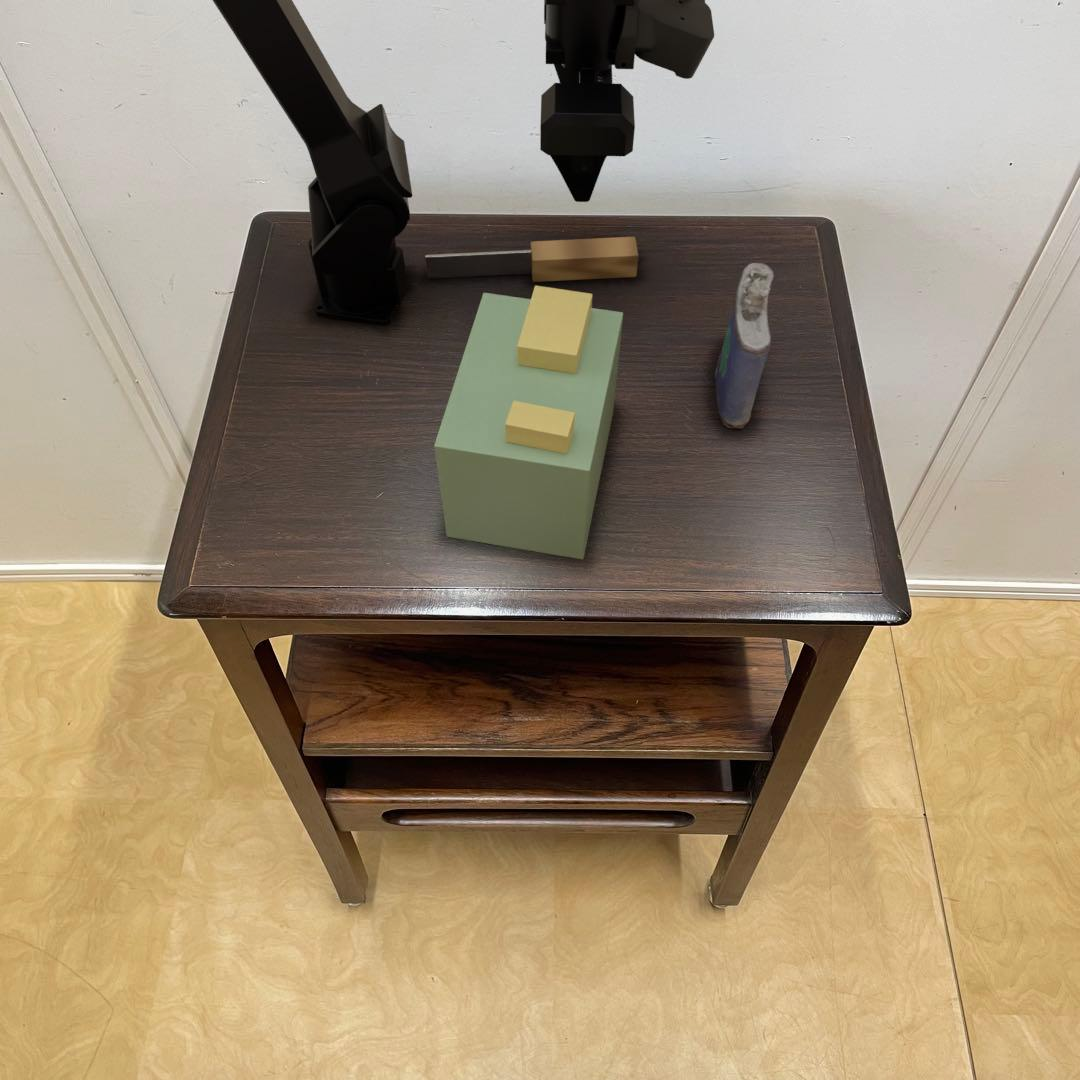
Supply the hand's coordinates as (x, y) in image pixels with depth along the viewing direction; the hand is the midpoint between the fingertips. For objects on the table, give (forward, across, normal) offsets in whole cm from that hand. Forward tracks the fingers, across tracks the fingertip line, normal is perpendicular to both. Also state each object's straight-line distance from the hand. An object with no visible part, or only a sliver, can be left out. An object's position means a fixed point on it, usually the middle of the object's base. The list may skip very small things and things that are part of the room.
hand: (581, 161), depth 77 cm
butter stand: (+11, -22, +3) cm, 25 cm away
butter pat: (0, -27, +3) cm, 27 cm away
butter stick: (0, -18, +2) cm, 19 cm away
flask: (+11, -13, -12) cm, 21 cm away
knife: (+11, 0, +4) cm, 12 cm away
